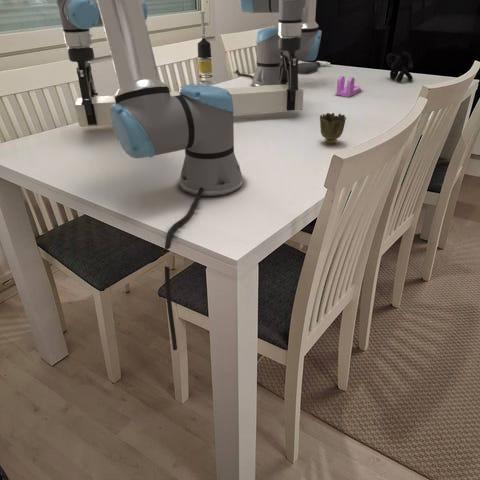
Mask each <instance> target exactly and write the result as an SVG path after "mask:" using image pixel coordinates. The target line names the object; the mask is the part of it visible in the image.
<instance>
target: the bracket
mask: <svg viewBox="0 0 480 480" xmlns="http://www.w3.org/2000/svg"><path fill="white" fill-rule="evenodd" d="M345 77H346V76H343V75H339V77H338V78H337V83H336V93H335V95H336V96H342V97H348V98H349V97H352V96H353V95H355V94H357V93H360V92H361V89H362V88H361V86H359V85H355V83H356V82H355V80H356V79H355V77H352V76H349V77H348V78H347V81H346V78H345ZM345 81H346V82H345ZM345 83H346V86H345Z"/></svg>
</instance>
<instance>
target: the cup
mask: <svg viewBox="0 0 480 480" xmlns="http://www.w3.org/2000/svg"><path fill="white" fill-rule="evenodd" d="M346 120H347V116H346V115H345V114H341V113H338V115H335V113H334V112H332V113H330V112H327V113H326V114H324V113H322V114H320V115H319V126H320V134H321V136H322V137H323V138H324V143H325V144H328V145H335V144H336V143H338V139H339V138H340V137H342V135H343V132H344V129H345V124H346Z"/></svg>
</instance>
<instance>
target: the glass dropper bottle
mask: <svg viewBox="0 0 480 480" xmlns="http://www.w3.org/2000/svg"><path fill="white" fill-rule="evenodd" d="M199 14H200V21H201V29H200V30H201V35H202V36H201V40H200V41H199V42H197V58H198V59H197V60H198V62H197V63H198V74H200V75H199V76H198V77H199V78H201V79H203V80H200V81H199V85H209V86H210V85H212V84H213V83H214V82H213V80H212V79H211V80H210V78H213V75H212V73H213V70H212V69H213V67H212V66H213V65H212V58H211V57H212V49H211V47H212V46H211V42H210V41H208V40H207V39H206V36H204V35H205V33H206V28H205V14H206V12H205V11H199Z"/></svg>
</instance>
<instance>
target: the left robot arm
mask: <svg viewBox="0 0 480 480" xmlns="http://www.w3.org/2000/svg"><path fill="white" fill-rule="evenodd" d="M56 5H57V7H58V13H59V16H60V21H61V27H62V31H63V32H62V33H63V37H64V42H65V46H66V47H68V48H67V49H66V50H67V55H68V60H69V62H72V63H77V67H76V74H77V78H78V84H79V89H80V96H81V98H82V103H81V105H84V107H85V112H86V117H87V122H88V125H97V121H96V115H95V110H94V105H93V102H92V97H99V92H97V90H96V86H95V82H94V78H93V77H94V76H93V73H92V66H91V63H90V62H91V61H94V60H95V58H96V57H95V52H94V47H93V46H91V45H92V44H93V42H92V38H93V37H94V36H93V34H92V33H90V29H92V28H100V27H103V30H104V32H105V33H104V34H105V37H106V40H107V44H108V45H107V46H108V49H109V53H110V57H111V61H112V64H113V68H114V73H115V77H116V80H117V84H118V90H117V91H116V93H115V94H114V95H113V96H114V98H115V102H116V104H114V105H113V106H112V107H111V108H110V116H111V119H112V125H111V126H112V129H113V132H114V134H115V137H116V139H117V140H118V143H119V144H120V146H121V148H122V149H123V151H124V152H125V153H126V155H128V156H129V157H131V158H132V159H143V158H154V157H156V156H161V155H165V154H169V153H175V152H179V151H183V150H184V154H185V155H184V158H183V164H182V168H181V171H180V177H179V178H180V179H179V183H180V184H179V185H180V188H181V189H182V191H184V192H186V193H187V194H190V195H194V196H195V197H194V199H193V202H192V204H191V205H190V208H189V210H188V212H187V213H186V214H185V215H184V217H182V218H181V219H180V220H178V221H176V222H175V223H174V224H173V225H172V226H171V227H170V228H169V229H168V231H167V233H166V237H165V244H164V249H165V250H169V249H170V248H171V241H172V236H173V233H174V232H175V231H176V229H177V228H178V227H180V226H182V225H183V224H184V223H186V222H187V221H188V220H189V219H190V218H191V216H192V215H193V213H194V211H195V209H196V207H197V204H198V203H199V200H200V199H201V197H221V196H224V195H229V194H232V193H234V192H235V191H237V190H239V189H240V188H241V187H242V185H243V174H242V171H241V167H240V163H239V161H238V160H237V157H236V154H235V132H234V131H235V130H234V127H235V126H234V115H233V112H234V109H233V101H232V95H231V94H230V92H229V91H227V90H225V89H223V87H220V86H214V85H210V84H209V85H202V84H184V85H181V86H180V87H179V90H178V91H179V94H180V95H177V96H171V95H170V92H171V91H170V88H169V85H168V84H166V83H165V82H163V81H162V80H161V79H160V76H159V72H158V68H157V63H156V60H155V54H154V51H153V47H152V42H151V39H150V34H149V30H148V29H149V28H148V25H147V19H148V4H147V1H146V0H56ZM85 99H88V100H85ZM170 273H171V271H170V267H169V266H164V284H165V297H166V307H167V315H168V322H169V329H170V335H171V344H172V351H177V350H178V344H177V342H178V341H177V336H176V335H177V333H176V326H175V320H174V312H173V304H172V292H171V274H170Z"/></svg>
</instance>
